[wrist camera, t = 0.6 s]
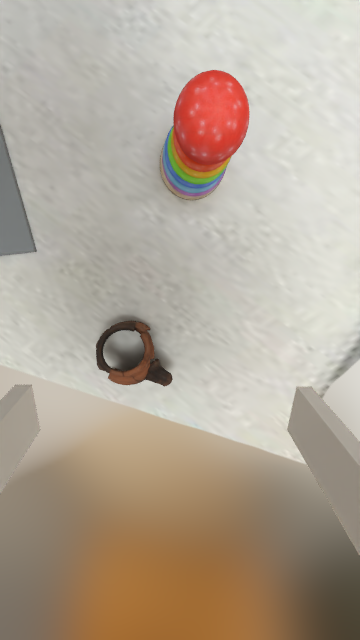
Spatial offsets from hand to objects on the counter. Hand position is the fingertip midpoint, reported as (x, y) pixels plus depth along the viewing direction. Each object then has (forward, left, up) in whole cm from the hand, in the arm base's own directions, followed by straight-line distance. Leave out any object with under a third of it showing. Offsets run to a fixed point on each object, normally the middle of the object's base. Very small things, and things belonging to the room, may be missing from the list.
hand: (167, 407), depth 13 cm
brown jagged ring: (+9, -6, -27) cm, 29 cm away
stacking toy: (-15, +5, -27) cm, 31 cm away
